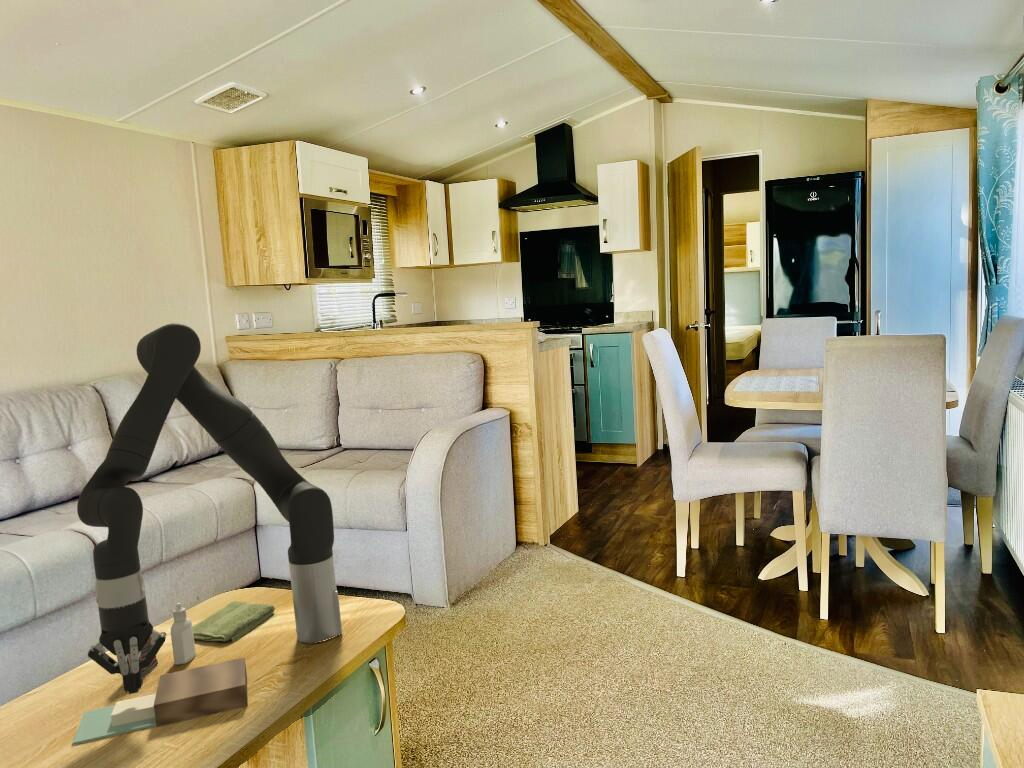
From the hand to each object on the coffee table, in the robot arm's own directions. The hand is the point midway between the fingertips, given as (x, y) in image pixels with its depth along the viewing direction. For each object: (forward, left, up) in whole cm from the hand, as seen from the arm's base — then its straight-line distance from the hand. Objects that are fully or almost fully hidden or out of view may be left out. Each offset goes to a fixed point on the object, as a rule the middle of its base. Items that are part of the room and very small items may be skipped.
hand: (134, 691), depth 136 cm
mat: (+3, 0, -5) cm, 5 cm away
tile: (0, 0, -4) cm, 4 cm away
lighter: (+1, -19, -5) cm, 20 cm away
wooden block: (-11, 0, -5) cm, 12 cm away
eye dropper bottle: (-7, -21, -5) cm, 23 cm away
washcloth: (-16, -35, -5) cm, 38 cm away
